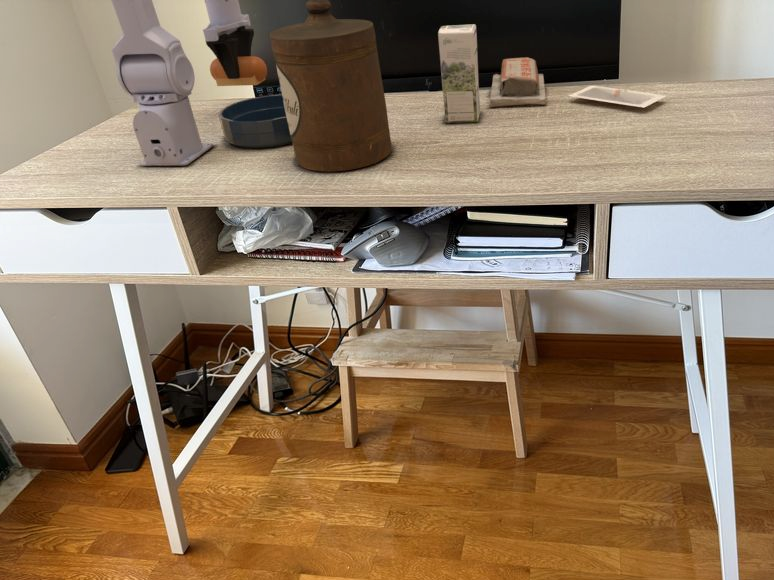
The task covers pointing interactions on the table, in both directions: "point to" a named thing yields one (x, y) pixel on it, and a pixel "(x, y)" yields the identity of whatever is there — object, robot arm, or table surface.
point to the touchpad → (618, 96)
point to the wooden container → (332, 91)
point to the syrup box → (459, 73)
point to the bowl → (256, 122)
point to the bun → (241, 72)
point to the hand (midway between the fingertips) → (239, 75)
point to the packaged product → (518, 84)
